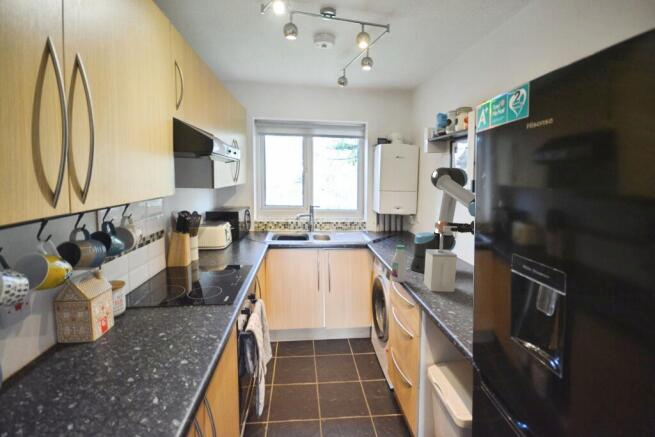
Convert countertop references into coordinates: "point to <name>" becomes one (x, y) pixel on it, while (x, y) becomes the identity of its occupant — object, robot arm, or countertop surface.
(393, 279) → the milk bottle
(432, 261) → the beige rectangular box
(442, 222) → the plunger
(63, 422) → the countertop surface
